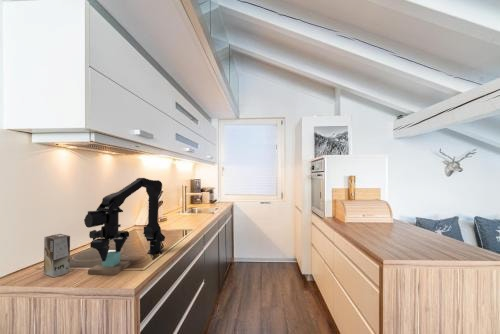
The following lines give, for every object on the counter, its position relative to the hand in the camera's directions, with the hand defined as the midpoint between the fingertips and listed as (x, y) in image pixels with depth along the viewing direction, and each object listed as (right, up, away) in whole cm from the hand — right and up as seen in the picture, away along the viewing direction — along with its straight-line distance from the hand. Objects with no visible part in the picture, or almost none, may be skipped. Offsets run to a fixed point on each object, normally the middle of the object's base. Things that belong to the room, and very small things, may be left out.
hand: (111, 257), depth 108 cm
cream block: (-8, -6, +13) cm, 16 cm away
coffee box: (-21, -5, -4) cm, 22 cm away
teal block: (0, -3, 0) cm, 3 cm away
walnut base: (0, -5, 0) cm, 5 cm away
